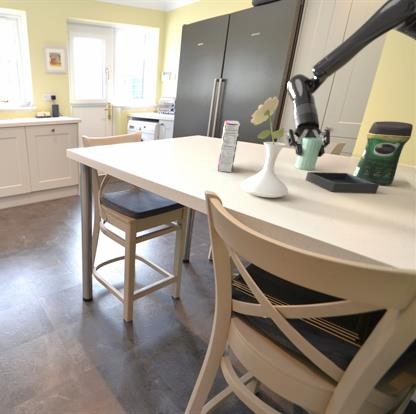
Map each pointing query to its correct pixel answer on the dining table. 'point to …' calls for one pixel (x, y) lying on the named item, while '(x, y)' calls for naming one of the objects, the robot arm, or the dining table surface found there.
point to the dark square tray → (341, 182)
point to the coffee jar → (383, 151)
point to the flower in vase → (267, 157)
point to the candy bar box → (228, 146)
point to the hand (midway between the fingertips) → (310, 155)
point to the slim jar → (309, 153)
